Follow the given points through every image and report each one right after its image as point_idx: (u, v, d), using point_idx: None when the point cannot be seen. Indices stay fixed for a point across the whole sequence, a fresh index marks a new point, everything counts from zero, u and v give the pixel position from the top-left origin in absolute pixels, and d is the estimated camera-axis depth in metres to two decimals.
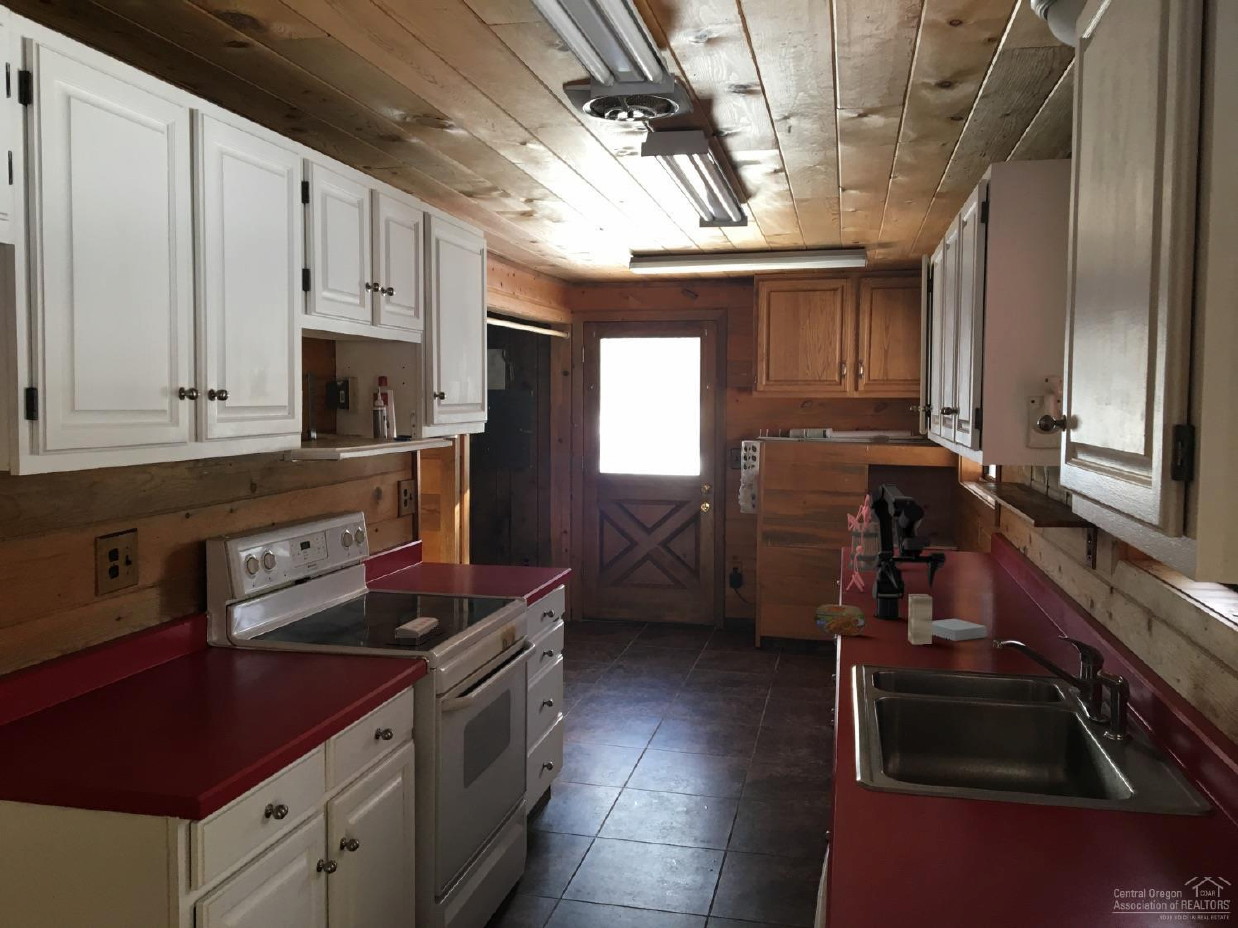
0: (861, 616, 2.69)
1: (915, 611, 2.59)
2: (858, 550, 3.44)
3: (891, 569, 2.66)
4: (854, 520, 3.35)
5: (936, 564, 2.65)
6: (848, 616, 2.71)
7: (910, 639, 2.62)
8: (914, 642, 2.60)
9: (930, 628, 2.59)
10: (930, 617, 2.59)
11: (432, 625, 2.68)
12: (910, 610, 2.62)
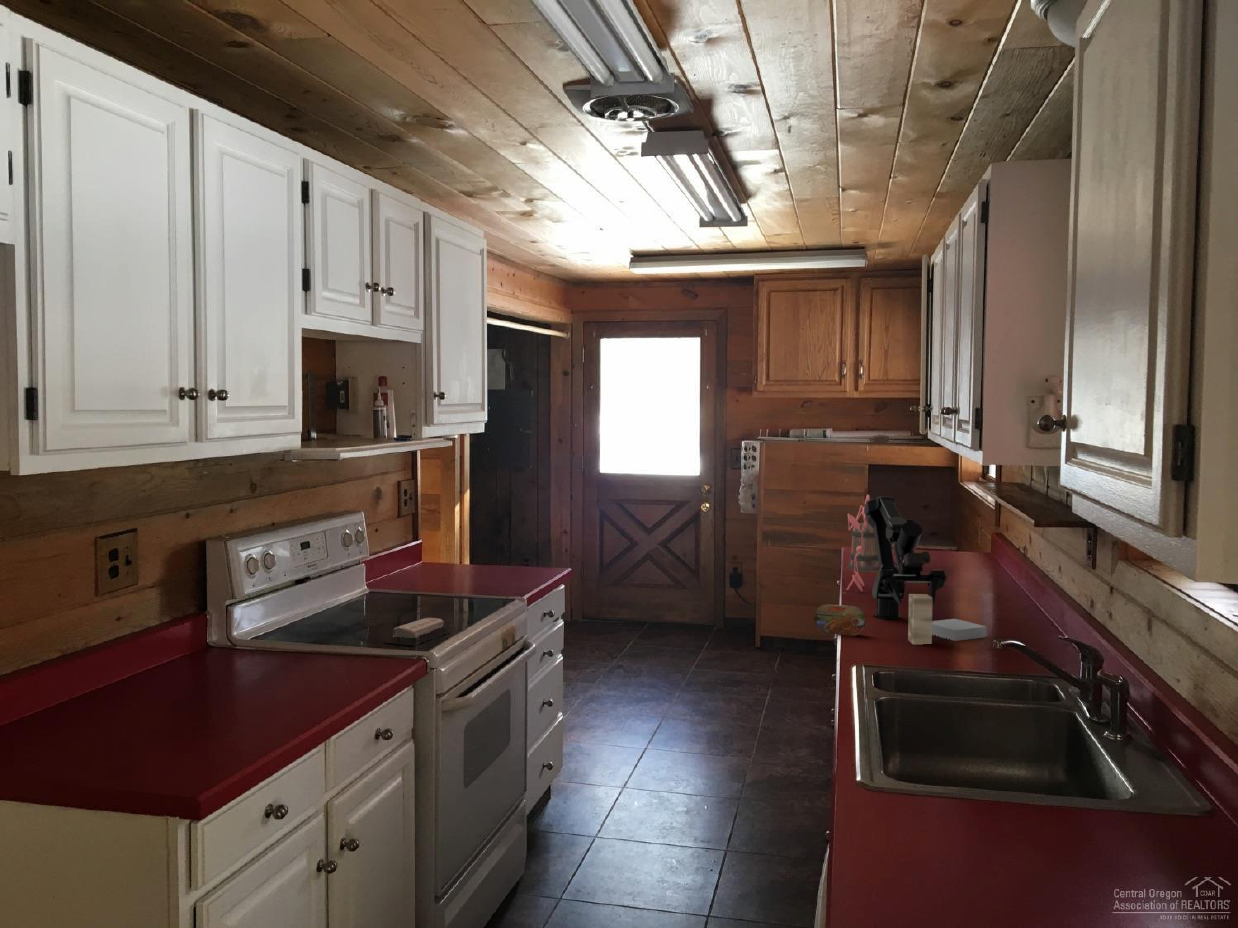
0: (861, 616, 2.69)
1: (915, 611, 2.59)
2: (858, 550, 3.44)
3: (893, 586, 2.67)
4: (854, 520, 3.35)
5: (937, 580, 2.67)
6: (848, 616, 2.71)
7: (910, 639, 2.62)
8: (914, 642, 2.60)
9: (930, 628, 2.59)
10: (930, 617, 2.59)
11: (434, 626, 2.67)
12: (910, 610, 2.62)
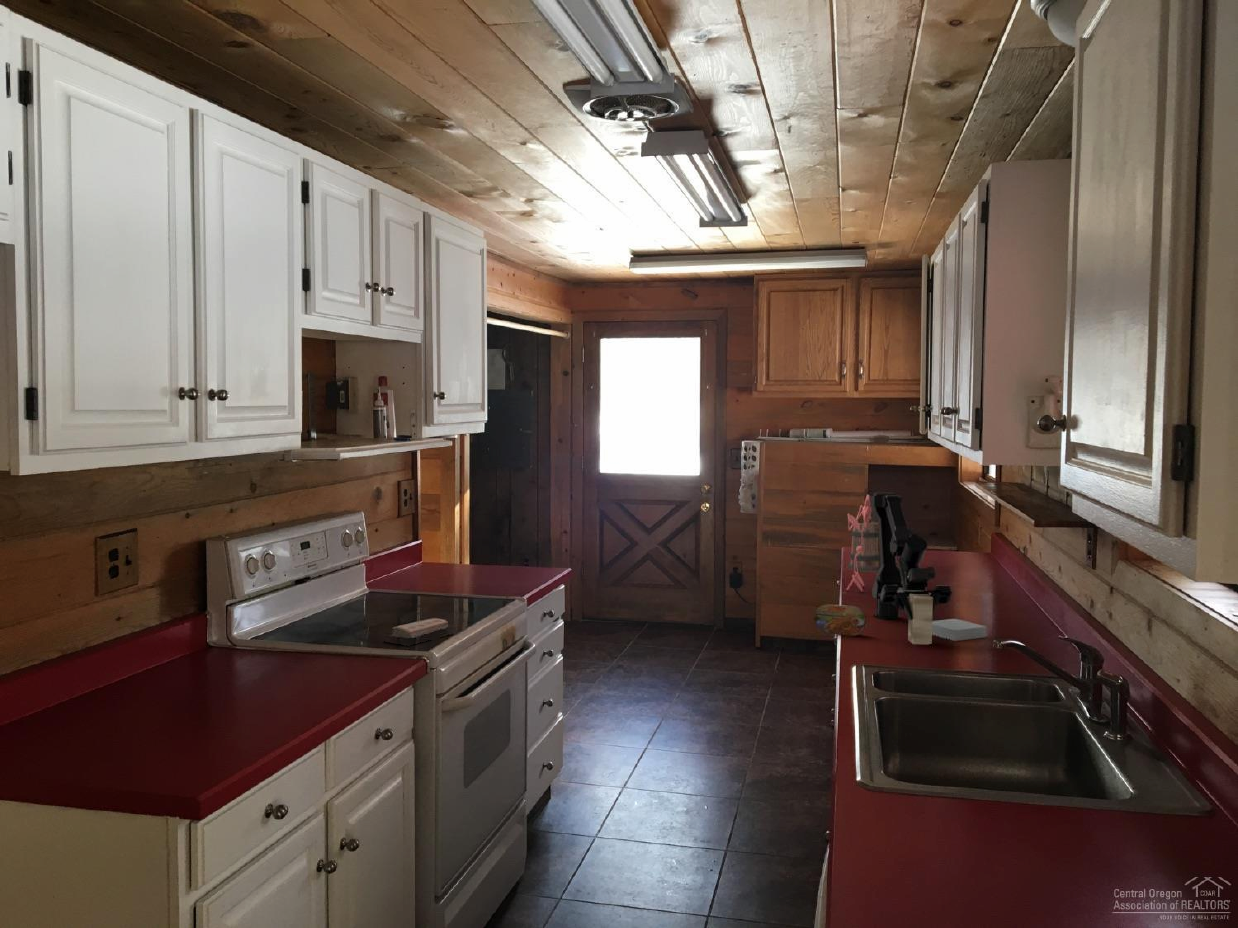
0: (861, 616, 2.69)
1: (915, 611, 2.59)
2: (858, 550, 3.44)
3: (904, 601, 2.63)
4: (854, 520, 3.35)
5: (935, 596, 2.63)
6: (848, 616, 2.71)
7: (910, 639, 2.62)
8: (914, 642, 2.60)
9: (930, 628, 2.59)
10: (930, 617, 2.59)
11: (436, 627, 2.65)
12: None
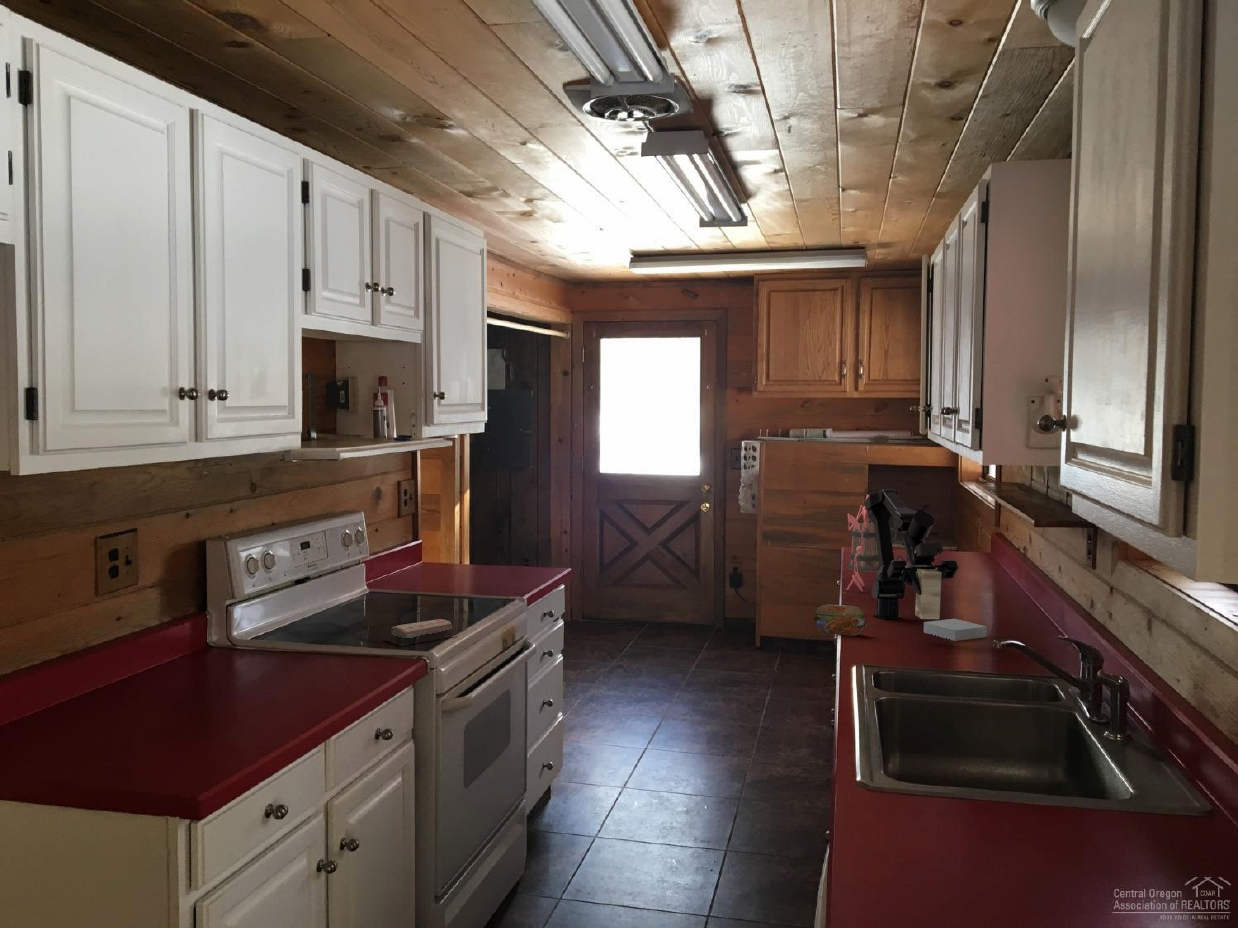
0: (861, 616, 2.69)
1: (924, 585, 2.60)
2: (858, 550, 3.44)
3: (913, 576, 2.63)
4: (854, 520, 3.35)
5: (943, 571, 2.64)
6: (848, 616, 2.71)
7: (918, 614, 2.63)
8: (922, 617, 2.61)
9: (938, 603, 2.61)
10: (939, 592, 2.60)
11: (437, 628, 2.64)
12: None
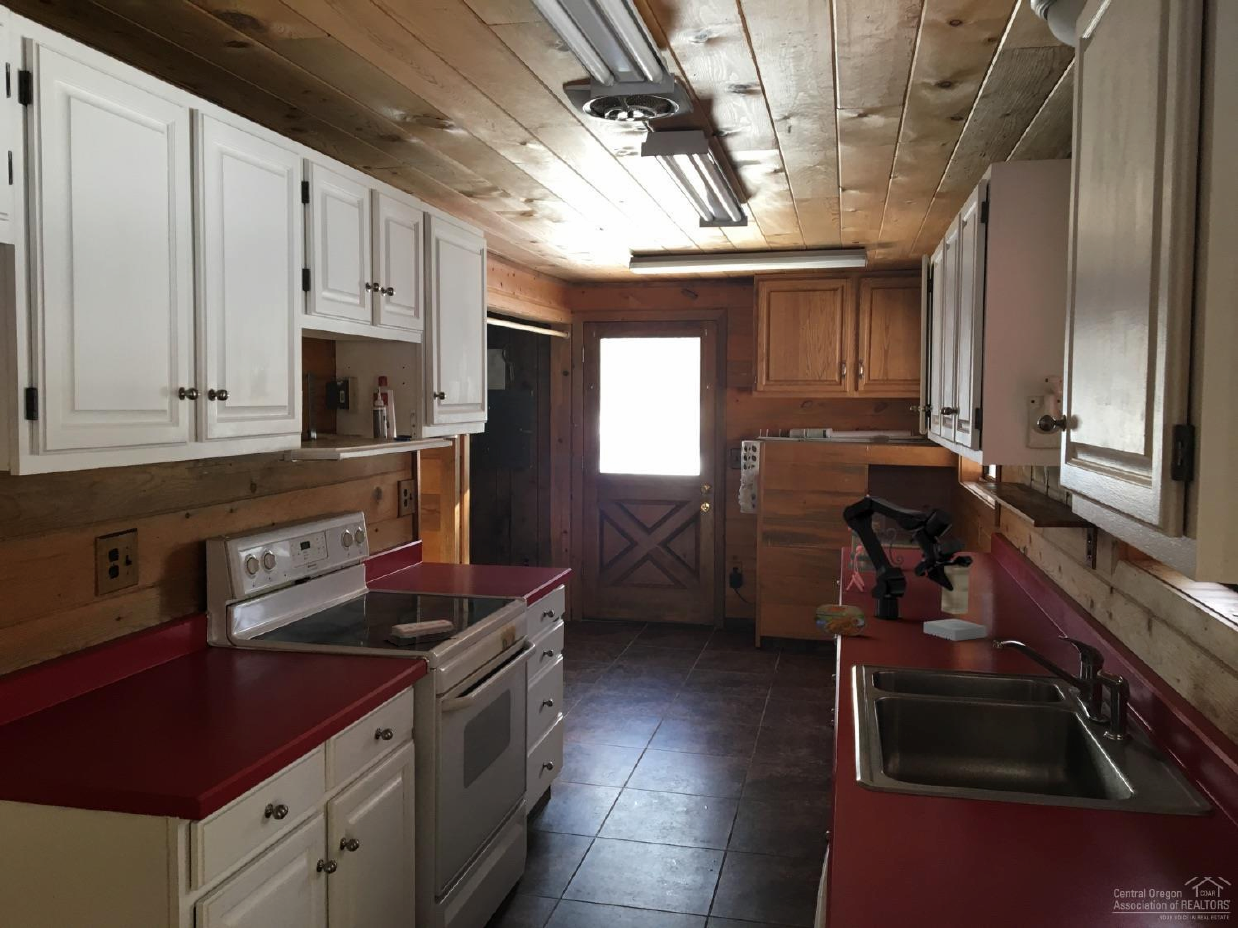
0: (861, 616, 2.69)
1: (957, 582, 2.68)
2: (858, 550, 3.44)
3: (942, 574, 2.70)
4: None
5: (963, 566, 2.74)
6: (848, 616, 2.71)
7: (947, 609, 2.71)
8: (955, 612, 2.68)
9: (967, 597, 2.70)
10: (967, 587, 2.70)
11: (436, 629, 2.63)
12: None
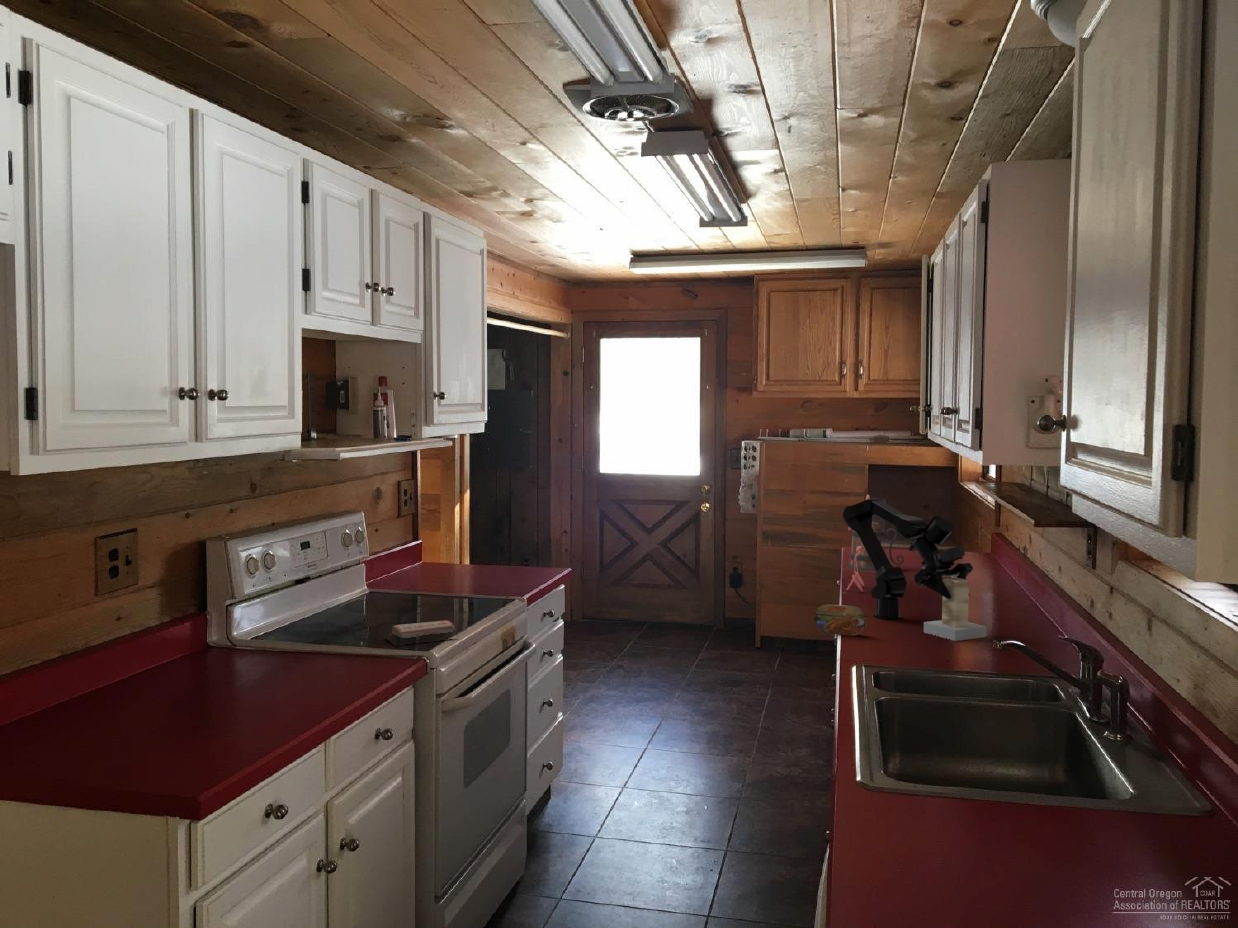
0: (861, 616, 2.69)
1: (956, 594, 2.68)
2: (858, 550, 3.44)
3: (940, 581, 2.70)
4: None
5: (965, 573, 2.75)
6: (848, 616, 2.71)
7: (947, 622, 2.71)
8: (956, 624, 2.68)
9: (967, 609, 2.70)
10: (967, 599, 2.70)
11: (436, 629, 2.62)
12: None
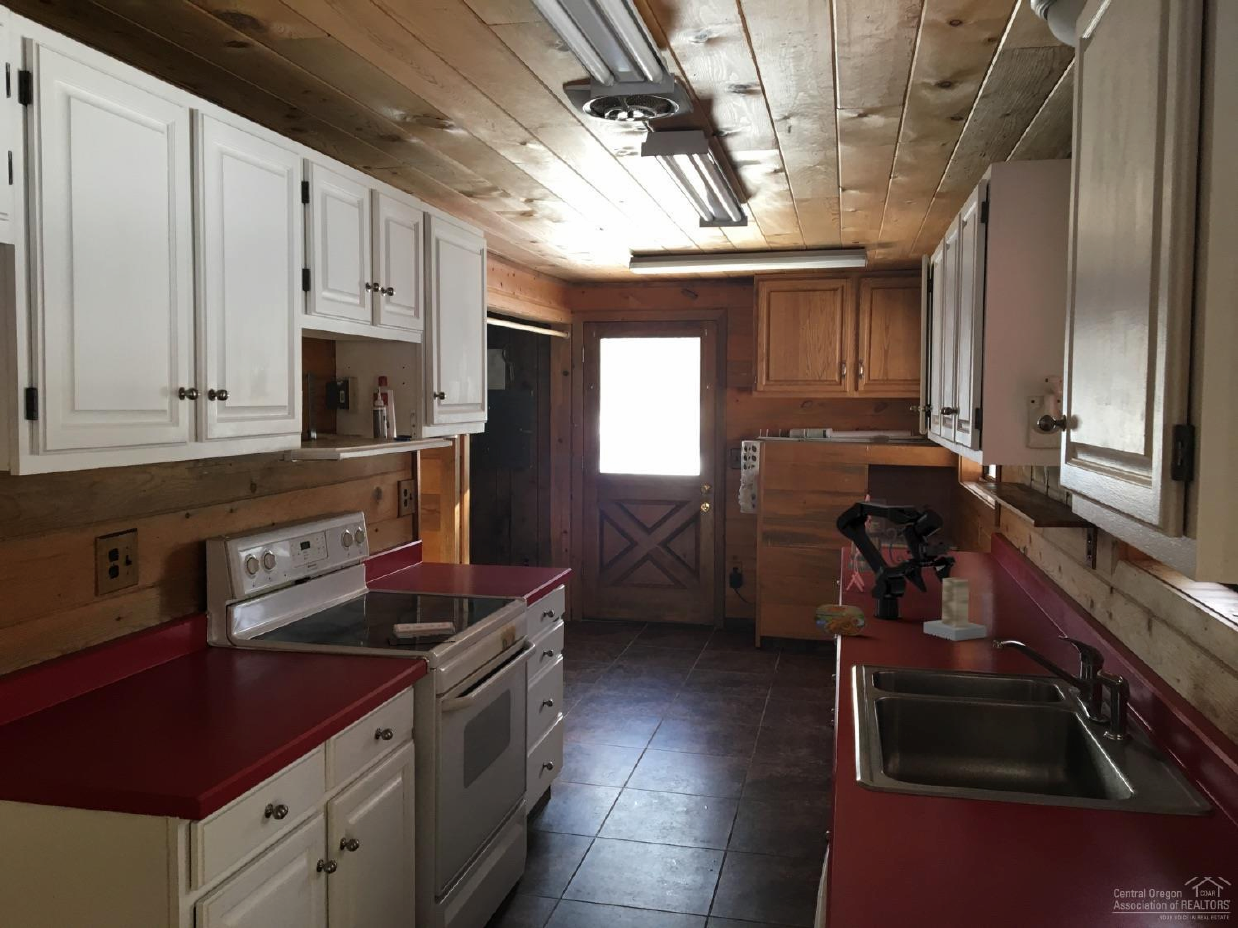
0: (861, 616, 2.69)
1: (956, 594, 2.68)
2: (858, 550, 3.44)
3: (919, 575, 2.75)
4: None
5: (950, 567, 2.81)
6: (848, 616, 2.71)
7: (947, 622, 2.71)
8: (956, 624, 2.68)
9: (967, 609, 2.70)
10: (967, 599, 2.70)
11: (433, 631, 2.60)
12: (947, 594, 2.71)
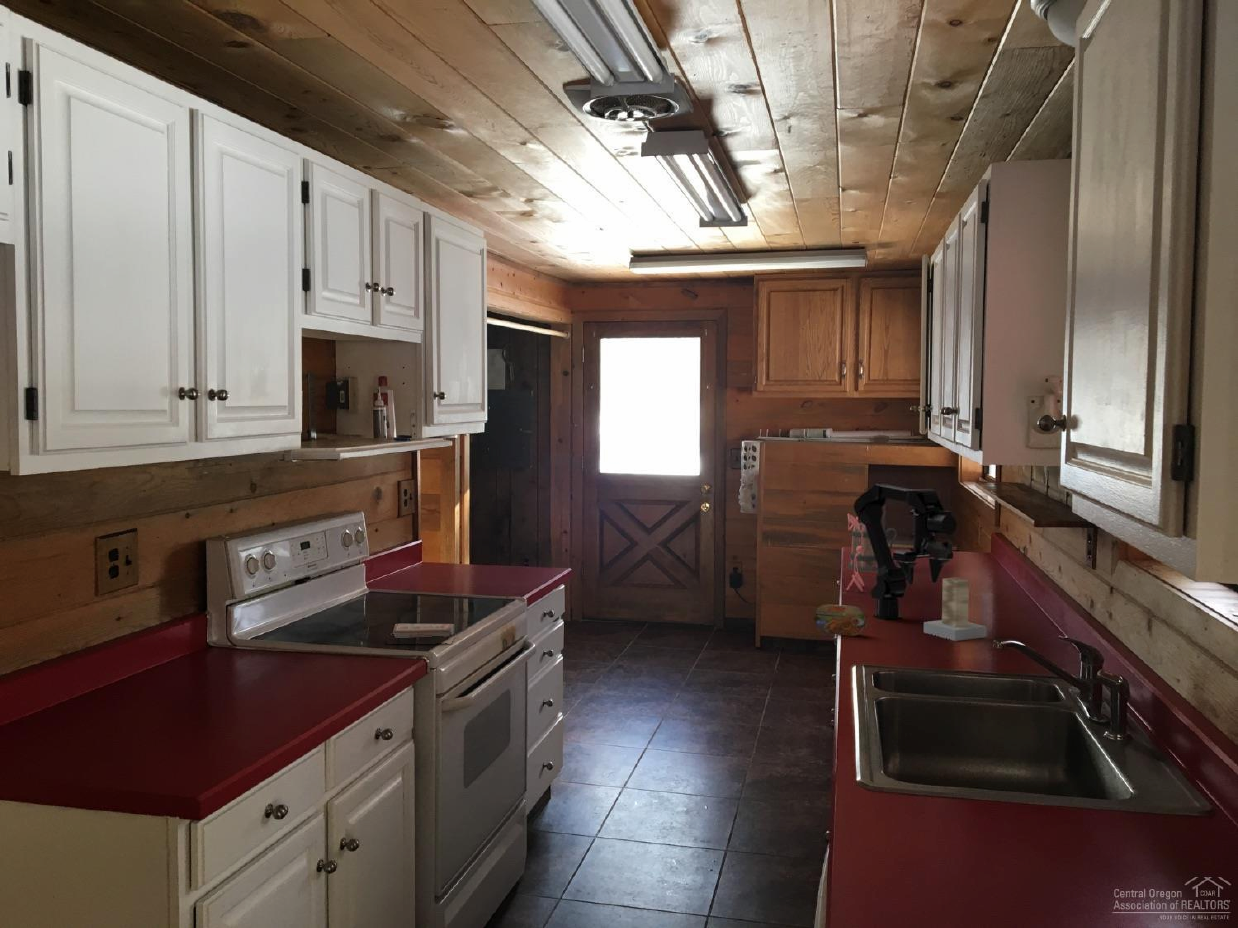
0: (861, 616, 2.69)
1: (956, 594, 2.68)
2: (858, 550, 3.44)
3: (911, 569, 2.78)
4: (854, 520, 3.35)
5: (945, 562, 2.82)
6: (848, 616, 2.71)
7: (947, 622, 2.71)
8: (956, 624, 2.68)
9: (967, 609, 2.70)
10: (967, 599, 2.70)
11: (430, 632, 2.59)
12: (947, 594, 2.71)
